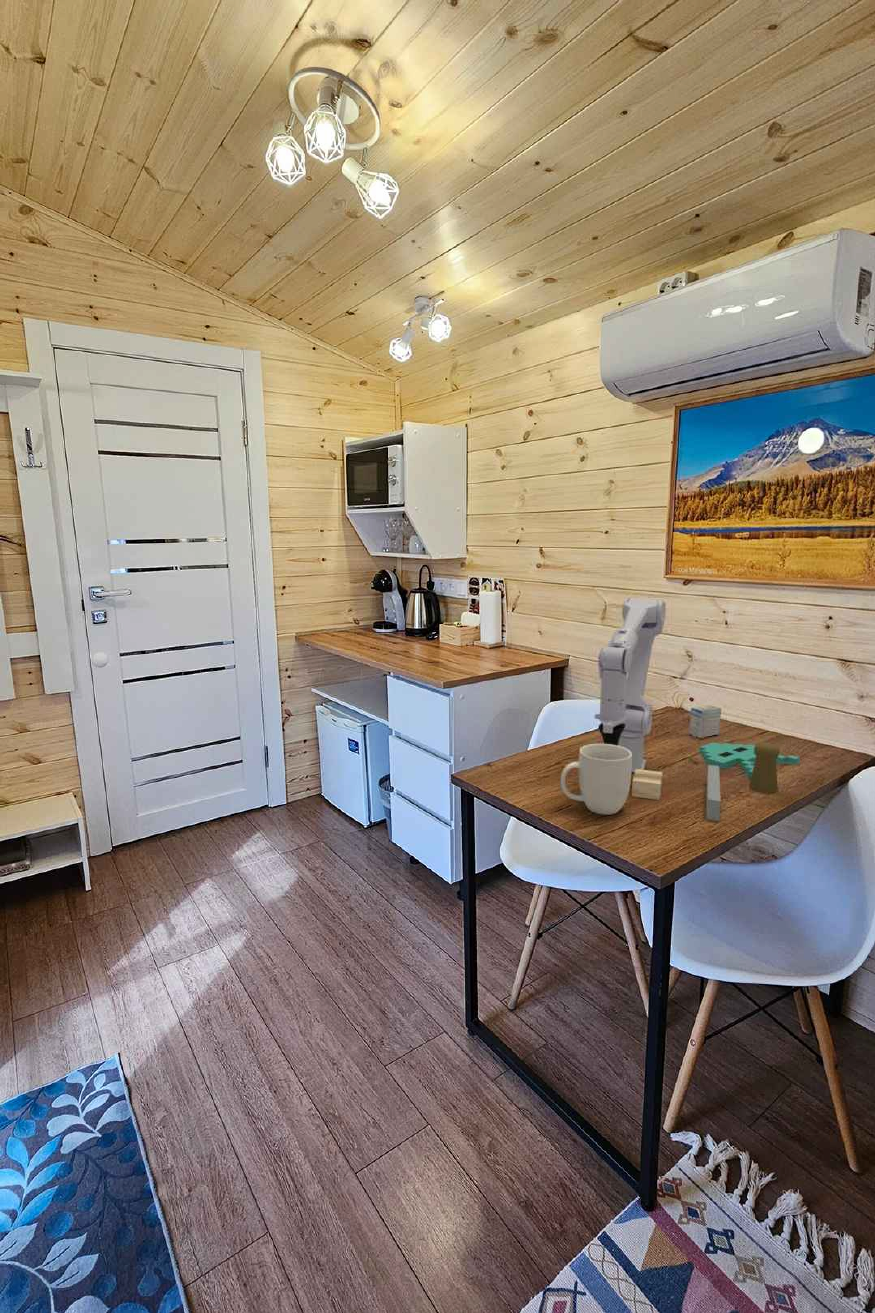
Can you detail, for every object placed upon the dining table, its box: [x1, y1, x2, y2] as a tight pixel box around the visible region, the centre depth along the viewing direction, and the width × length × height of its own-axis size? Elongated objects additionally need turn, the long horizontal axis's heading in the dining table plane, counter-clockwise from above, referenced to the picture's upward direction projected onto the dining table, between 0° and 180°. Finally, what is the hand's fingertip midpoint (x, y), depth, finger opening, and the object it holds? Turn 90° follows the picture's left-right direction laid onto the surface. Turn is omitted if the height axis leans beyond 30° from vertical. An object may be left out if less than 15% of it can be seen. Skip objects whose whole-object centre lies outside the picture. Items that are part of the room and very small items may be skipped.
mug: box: [560, 743, 632, 816], centre depth 134 cm, size 15×11×13 cm
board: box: [706, 765, 722, 822], centre depth 139 cm, size 22×2×4 cm, turn 157°
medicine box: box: [688, 704, 722, 737], centre depth 185 cm, size 8×4×9 cm, turn 115°
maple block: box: [631, 769, 663, 801], centre depth 144 cm, size 8×6×4 cm
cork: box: [748, 741, 780, 795], centre depth 145 cm, size 6×6×11 cm
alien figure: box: [698, 742, 801, 780], centre depth 164 cm, size 20×2×20 cm
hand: (610, 754), depth 146 cm, fingers closed
